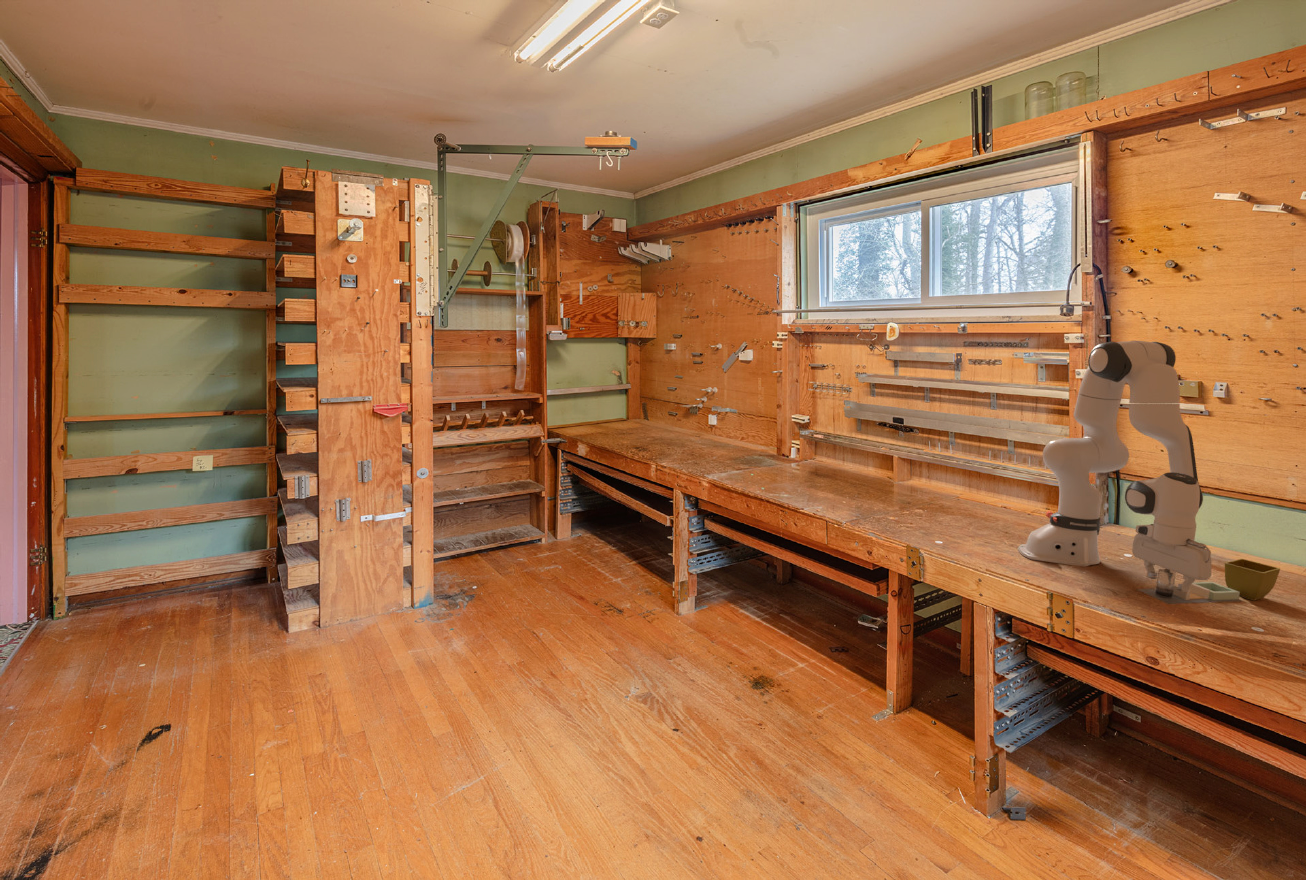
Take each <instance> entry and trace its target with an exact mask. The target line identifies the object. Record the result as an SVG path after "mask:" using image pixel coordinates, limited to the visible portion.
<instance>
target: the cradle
mask: <svg viewBox="0 0 1306 880" xmlns="http://www.w3.org/2000/svg"><path fill="white" fill-rule="evenodd" d="M1178 587H1179V586H1178V584H1175V583H1174V589H1173V595H1176V596H1178V597H1180V598H1183V599H1185V600H1189V599H1209V594H1210V590H1208V589H1206V588H1203V587H1201V586H1198V585H1196V584H1193V583H1192V584H1191V585H1190V587H1189V591H1188V592H1183V591H1180V590H1178Z"/></svg>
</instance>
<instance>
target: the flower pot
mask: <svg viewBox="0 0 1306 880" xmlns="http://www.w3.org/2000/svg"><path fill="white" fill-rule="evenodd" d="M1280 571H1281V568H1280V567H1277V566H1272V565H1270V564H1269V565H1268V564H1264V563H1260V562H1258V561H1253V560H1248V559H1246V558H1245V559H1244V558H1239V559H1235V560H1231V561H1226V562H1224V581H1225V585H1226V587H1228V588H1230V589H1233V590H1236V591H1238V592H1240V594H1239V598H1240V597H1242V598H1243V599H1247V600H1249V601H1258V600H1260V599H1263V598H1265V597H1266V596H1267V595H1269V594H1270V592H1271V591H1272V590H1273V589H1274V587H1275V585H1276V582H1277V580H1278V578H1279V574H1280Z"/></svg>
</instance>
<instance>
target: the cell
mask: <svg viewBox="0 0 1306 880" xmlns="http://www.w3.org/2000/svg"><path fill="white" fill-rule="evenodd" d="M1157 573H1158V574H1157V579H1156V587H1155V589H1156V592H1155V595H1156V596H1159V597H1162V598H1168V599H1170V598H1172V596H1173V589H1174V584H1175V579H1176V574H1177V572H1174V571H1171V570H1169V569H1166V568H1159V569H1158V572H1157Z"/></svg>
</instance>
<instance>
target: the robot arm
mask: <svg viewBox="0 0 1306 880" xmlns="http://www.w3.org/2000/svg"><path fill="white" fill-rule="evenodd" d="M1087 363H1088V364H1087V365H1088V366H1087V369H1086V370H1085V371H1084V374H1083V377H1082V379H1081V383H1080V386H1079V390H1078V394H1077V398H1076V402H1075V406H1074V411H1073V417H1074V420H1075V422H1077V424H1079V425H1080V426H1082V427H1083V436H1082V437H1063V438H1059V439H1056V440H1051V441H1049V442H1048V443H1046V445H1045V446H1044V448H1043V450H1042V461H1043V463H1044V465H1045V467H1046V468H1047V469H1049V470H1050V471H1051V472H1052V473H1053V475H1054V476H1055V478H1056V480H1057V483H1058V490H1059V491H1058V492H1059V495H1058V496H1059V498H1058V509H1057V511H1056V512H1054V513H1053V512H1052V511H1050V510H1049V511H1048V510H1047V512H1046V513H1045V516H1046V517H1047V519H1049V523H1047V524H1045V525H1042V526H1041V527H1038V528H1037V529H1034V530H1032V531H1031V532H1030V533H1029V535H1028V538H1027V540H1026V543H1024V544H1023V543H1022V544H1020V545H1019V546H1018V548H1017V549H1018V552H1019V553H1020V554H1021V555H1022V556H1024V557H1025V558H1028V559H1030V560H1033V561H1039V562H1049V563H1054V564H1060V565H1061V564H1062V565H1068V566H1069V565H1070V566H1075V567H1088V566H1092V565H1093V566H1094V565H1098V564H1100V563H1101V558H1100V553H1099V539H1098V536H1099V534H1100V530H1101V517H1100V513H1101V505H1102V493H1101V491H1100V490H1099V489H1098V488H1097V487H1096V486H1094V485H1092V483H1091V481H1090V473H1091V474H1092V473H1097V474H1098V473H1102V474H1103V473H1109V472H1111V473H1112V472H1114V471H1119V470H1122V469H1123V468H1125V467H1126V465H1127V464H1128V461H1129V458H1130V453H1129V449H1128V447H1127V446H1126V444H1125V443H1124V442H1123V441H1122V440H1121V438H1120V436H1119V433H1118V428H1117V423H1118V422H1117V421H1118V416H1119V410H1120V405H1121V402H1122V398H1123V393H1124V388H1125V386H1126V384H1128V387H1129V400H1128V401H1129V402H1128V416H1129V422H1130V424H1131V426H1132V427H1133V428H1134V429H1135V430H1136V431H1137V432H1139V433H1140V434H1142V435H1144V436H1146V437H1149V438H1151V439H1154V440H1155V441H1156V440H1157V441H1158V442H1159V443H1161V445H1163V446H1164V447H1165V448H1166V452H1167V455H1168V456H1167V457H1168V464H1169V472H1165V473H1162V474H1161V475H1160V476H1158V477H1154V478H1149V479H1142V480H1135V481H1132V482H1131V483H1130V484H1129V485H1128V486H1127V487H1126V489H1125V494H1124V501H1125V503H1126V506H1127V507H1128V508H1129V509H1130V510H1131V511H1132V512H1134V513H1136V514H1140V515H1147V516H1148V515H1151V516H1153V517H1154V519H1153V523H1151V524H1140V525H1136V526H1135V532H1136V533H1135V536H1134V537H1133V542H1132V555H1133V556H1134V558H1137V559H1139V560H1141V561H1143V565H1144V567H1145V570H1146V578H1147V579H1151V580H1157V578H1158V572H1156V570H1155V567H1154V566H1159V567H1161V568H1162V569H1169V570H1171V571H1174V572H1176V574H1179V575H1183V576H1182V579H1183V580H1184V581H1183V582H1182V583H1178V584H1177V585H1178V586H1179V587H1178V590H1180V591H1183V592H1188V591H1189V587H1190V585H1191V584H1192V583H1193V582H1196V581H1206V580H1209V579H1210V578H1211V577H1212V569H1213V568H1212V567H1213V566H1212V556H1211V555H1212V552H1211V550H1210V548H1209V547H1208V546H1207V545H1206V544H1204V543H1202V542H1198V541H1196V532H1197V522H1196V517H1197V514H1198V513H1199V510H1200V508H1201V507H1202V505H1203V501H1204V496H1203V492H1202V489H1201V486H1200V482H1199V480H1198V479H1199V478H1198V477H1199V476H1198V472H1197V471H1198V470H1197V463H1196V454H1195V447H1194V440H1193V435H1192V431H1191V429H1190V427H1189V426H1188V425H1187V423H1185V422H1184V420H1183V417H1182V413H1181V407H1180V405H1181V404H1180V403H1181V395H1180V394H1181V393H1180V384H1179V383H1180V382H1179V378H1178V373H1177V370H1176V369H1175V368H1174V366H1175V364H1176V353H1175V350H1174V349H1173V348H1172V347H1171V346H1170V345H1168V344H1167V343H1163V342H1158V341H1146V340H1145V341H1144V340H1128V341H1117V342H1116V341H1108V342H1103V343H1099V344H1097V345H1096V346H1094V347H1093V349H1091V351H1090V353H1089V356H1088V362H1087Z"/></svg>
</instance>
